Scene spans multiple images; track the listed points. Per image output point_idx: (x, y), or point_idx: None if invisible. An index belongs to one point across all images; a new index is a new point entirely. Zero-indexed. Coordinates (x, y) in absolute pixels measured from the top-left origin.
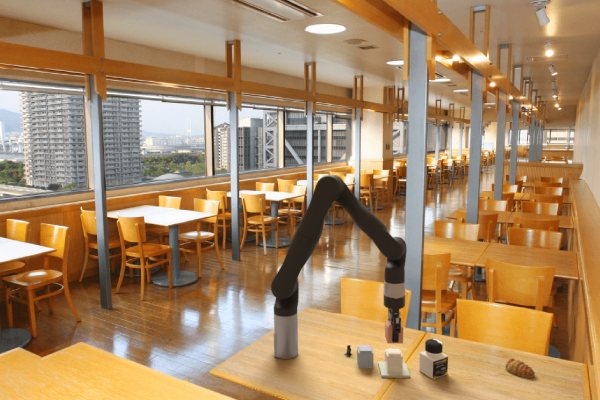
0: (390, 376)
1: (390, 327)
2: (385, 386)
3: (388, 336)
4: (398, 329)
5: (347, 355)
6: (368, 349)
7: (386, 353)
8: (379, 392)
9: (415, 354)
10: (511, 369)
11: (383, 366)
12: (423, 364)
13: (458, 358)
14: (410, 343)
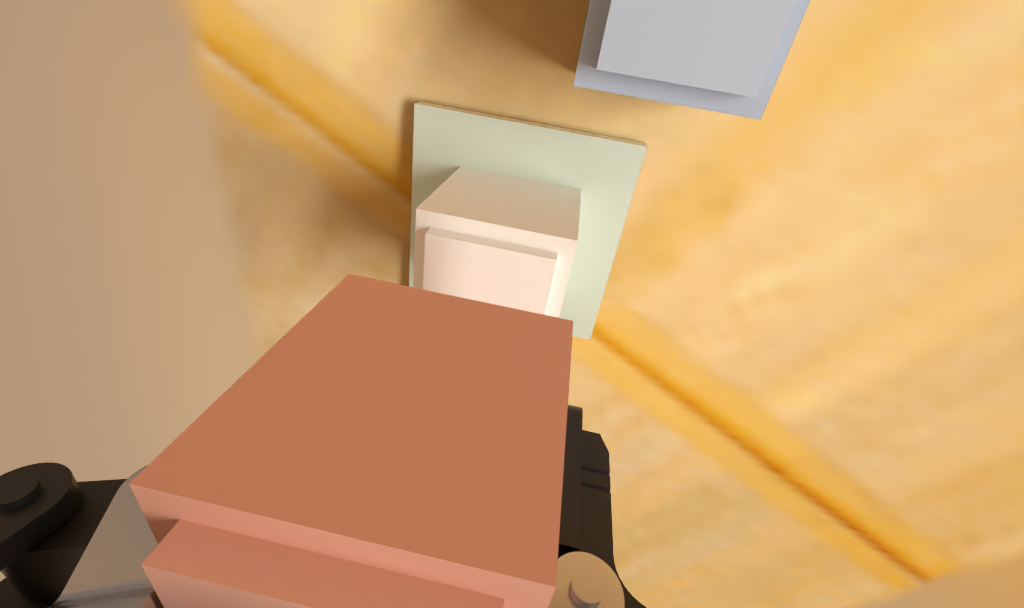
0: (416, 173)
1: (154, 528)
2: (299, 90)
3: (289, 348)
4: (24, 598)
5: None
6: (643, 29)
7: (480, 222)
8: (212, 10)
9: (685, 430)
10: None
11: (552, 167)
12: None
13: None
14: (845, 465)
